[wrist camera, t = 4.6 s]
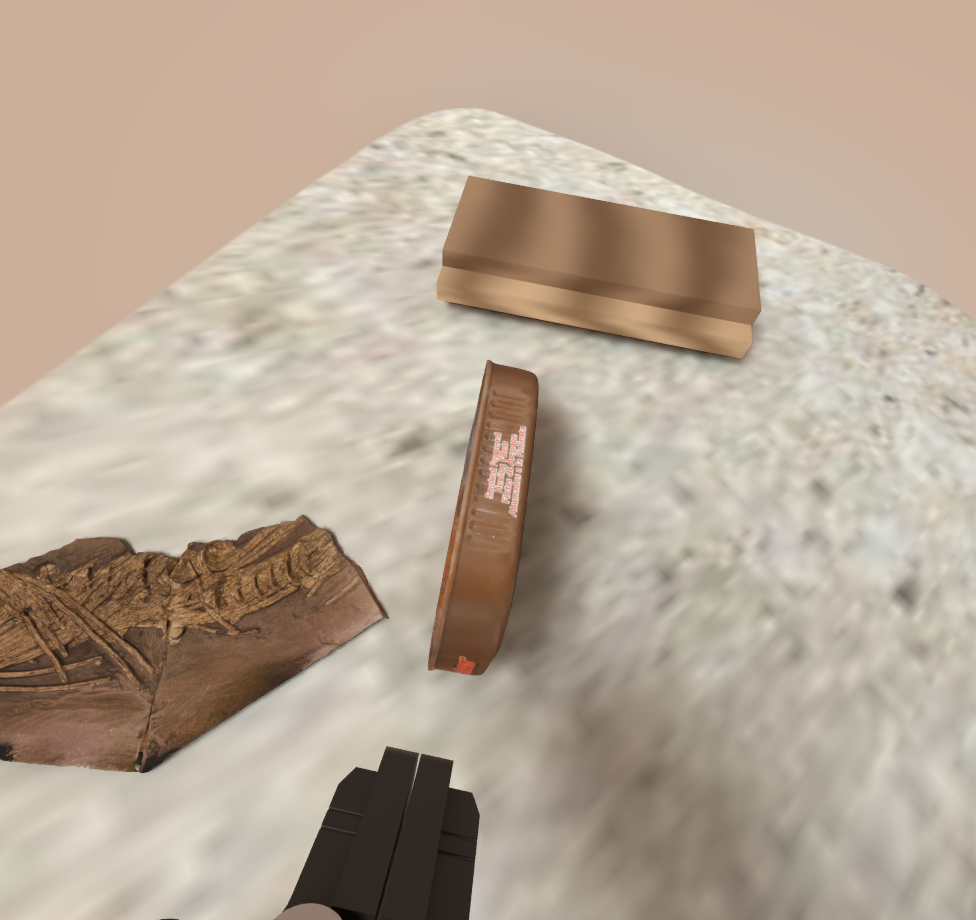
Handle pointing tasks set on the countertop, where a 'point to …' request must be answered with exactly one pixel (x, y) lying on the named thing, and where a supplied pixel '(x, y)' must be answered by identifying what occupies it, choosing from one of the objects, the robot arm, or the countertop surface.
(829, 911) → the countertop surface
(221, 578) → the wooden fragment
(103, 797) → the countertop surface
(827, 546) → the countertop surface
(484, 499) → the tin
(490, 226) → the walnut plank
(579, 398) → the countertop surface
